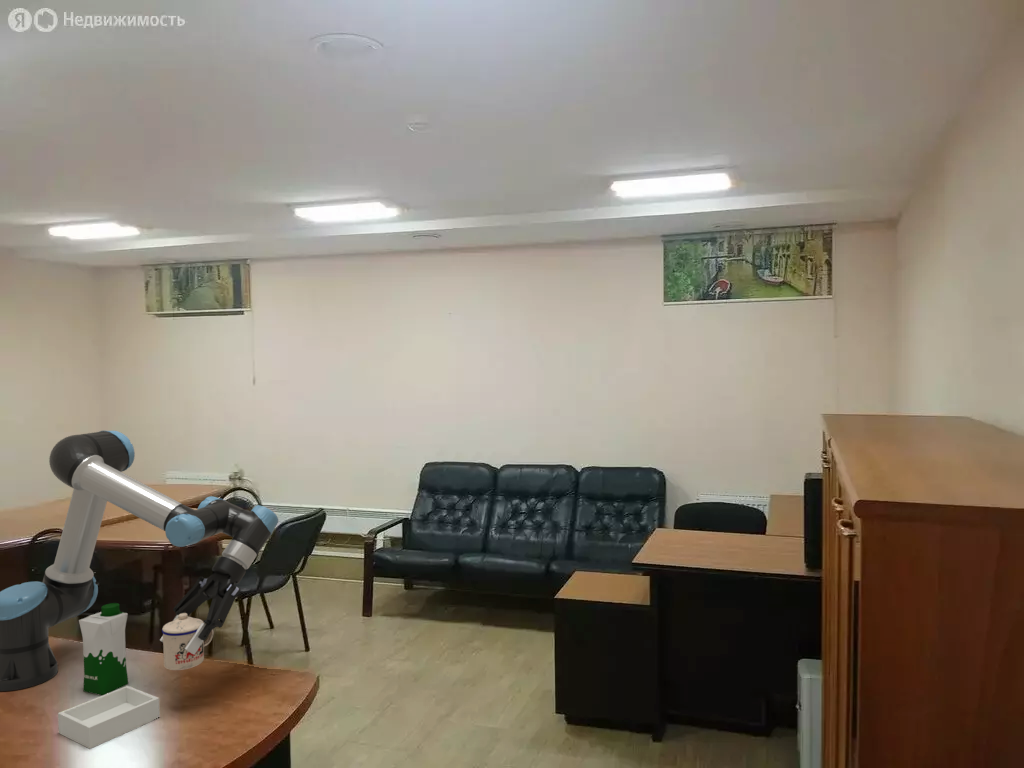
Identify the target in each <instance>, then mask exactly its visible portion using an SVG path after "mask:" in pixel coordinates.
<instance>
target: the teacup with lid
mask: <svg viewBox="0 0 1024 768" xmlns="http://www.w3.org/2000/svg"><path fill="white" fill-rule="evenodd" d="M172 620H173V619H172ZM202 623H204V620H203V619H200V618H198V617H197V618H195V617H192V616H188V615H187V613H185V612H184V613H181V614H179V615H178V618H177V619H175V620H173V621H169V622H167V623H165V624H164V625H163V626H162V629H161V633H162V636H163V642H162V644H163V645H162V648H163V666H164V668H165V669H167V670H171V671H181V670H182V671H183V670H188V669H192V668H194V667H197V666H199V665H200V664H202V663H203V662H204V660H205V647H207V646H208V645H209V644H210V643H211V641H212V640H213V638H214V634H215V633H214V629H212V631H211V632H210V634H209V635H208V636H207V638H206V639H205V640H204V641H203V643H202V644H201V646H200V647H199V649H198V650H197V652H196V653H195V655H194V654H192V653H190V652H189V651H187V650H186V649H185V648H186V646H187V645H188V643H189V642H190V640H191V639H192V637H193V636H194V634H195V633H196V631H197V630H198V628H199V627H200V625H201V624H202Z"/></svg>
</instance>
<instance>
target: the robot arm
mask: <svg viewBox="0 0 1024 768" xmlns="http://www.w3.org/2000/svg"><path fill="white" fill-rule="evenodd" d="M48 459H49V467H50V471H51V472H52V473H53V475H54V477H56V479H58V480H59V481H60V482H61V483H63V484H64V485H66V486H69V487H70V488H72V489H73V491H72V494H71V499H70V502H69V506H68V508H67V509H68V510H67V513H66V518H65V521H64V524H63V528H62V533H61V537H60V540H59V544H58V548H57V551H56V556H55V558H54V562H53V564H51V565H50V566H48V567H47V568H46V569H45V571H44V575H43V579H42V581H28V582H27V581H26V582H22V583H21V584H14V585H12V586H9V587H6V588H5V589H2V590H1V591H0V692H10V691H18V690H22V689H27V688H31V687H34V686H38V685H40V684H42V683H45V682H47V681H49V680H50V679H52V678H54V677H56V675H57V674H58V672H59V671H58V670H59V668H58V660H57V658H56V657H55V654H54V652H53V650H52V647H51V645H50V642H49V628H52V627H53V626H56V625H58V624H61V623H63V622H65V621H68V620H69V619H72V618H73V619H74V618H75V617H78V616H80V615H81V614H83V613H84V612H86V611H87V610H89V609H90V608H91V607H92V606H93V605H94V604H95V603H96V600H97V597H98V593H99V587H98V584H96V582H97V580H96V578H95V576H94V574H95V573H94V572H93V571H94V570H92V569H91V568H90V567H91V563H92V559H93V555H94V552H95V547H96V544H97V541H98V537H99V533H100V529H101V527H102V522H103V518H104V515H105V510H106V507H107V503H108V502H109V503H110V504H112V505H114V506H116V507H117V508H120V509H122V510H124V511H126V512H128V513H130V514H131V515H133V516H135V517H137V518H139V519H141V520H143V521H145V522H147V523H148V524H151V525H153V526H154V527H156V528H158V529H159V530H160V529H161V530H162V531H163V532H165V537H166V539H167V540H168V541H169V543H170V544H171V545H172V546H175V547H177V548H180V547H181V548H182V547H187V546H192V545H194V544H195V545H196V544H197V543H199V542H201V541H203V540H205V539H208V538H211V537H213V536H215V535H218V534H220V533H221V534H225V535H227V536H228V537H231V538H232V539H231V540H230V541H229V543H228V544H227V545H226V547H225V548H224V550H223V551H222V553H221V556H220V557H218V559H217V560H216V561H215V563H214V564H213V566H212V568H211V571H212V574H211V575H210V576H209V577H207V578H204V577H203V576H201V575H200V576H199V577H198V578H197V580H196V582H195V583H194V585H193V586H192V587H191V588H190V589H189V590H188V591H187V592H186V593H185V595H184V596H183V597H181V599H180V600H179V601H178V602H177V603H176V604H175V606H174V607H173V608H172V611H173V612H174V613H175V616H174V617H173V618H172V621H173V620H175V619H177V618H178V615H179V614H181V613H187V615H188V617H190V615H191V614H193V613H194V611H196V609H198V608H199V607H200V606H201V605H202V604H203V603H205V602H206V601H209V600H211V603H210V606H209V610H208V613H207V616H206V619H205V620H203V623H202V624H201V625H200V627H199V628H198V630H197V631H196V633H195V634H194V636H193V637H192V639H191V640H190V642H189V643H188V645H187V646H186V648H185V649H186V650H187V651H189V652H190V653H192V654H194V655H195V653H196V652H197V650H198V649H199V647H200V646H201V644H202V643H203V641H204V642H205V641H206V640H207V638H208V636H209V634H210V632H211V631H212V629H213V630H214V629H216V628H222V627H223V625H224V624H225V621H226V619H227V617H228V615H229V613H230V611H231V609H232V606H233V604H234V602H235V600H236V598H237V597H238V595H239V594H240V593H241V592H242V591H241V589H240V588H239V587H238V586H236V585H238V584H240V582H241V581H242V579H243V577H244V576H245V574H246V570H248V569H249V568H250V567H251V565H252V563H253V562H254V560H255V559H256V557H257V556H258V555H259V553H260V551H261V550H262V549H263V547H264V545H265V544H266V543H267V541H268V540H269V539H270V537H271V536H272V534H273V532H274V531H275V529H276V528H277V525H278V524H279V516H277V514H276V513H275V512H274V511H273V510H271V509H270V508H268V507H266V506H263V505H259V504H258V505H255V506H253V508H252V509H251V510H248V509H245V508H242V507H240V506H238V505H236V504H233V503H231V502H229V501H227V500H225V499H223V498H219V497H216V496H213V495H212V496H211V495H210V496H207V497H206V498H205V499H204V500H202V501H201V502H200V504H199V505H198V507H197V509H193V508H191V507H189V506H187V505H185V504H183V503H181V502H179V501H177V500H175V498H172V497H170V496H168V495H166V494H165V493H162V492H161V491H158V490H156V489H154V488H153V487H150V486H149V485H147V484H145V483H143V482H141V481H139V480H137V479H135V478H133V477H131V476H129V475H128V474H126V473H123V472H125V471H127V470H128V469H129V468H130V467H132V464H133V463H134V460H135V447H134V446H133V443H132V442H131V440H130V438H129V437H128V436H127V435H125V434H124V433H122V432H120V431H117V430H100V431H99V430H98V431H96V432H95V431H94V432H88V433H81V434H73V435H68V436H66V437H63V438H62V439H60V440H59V441H58V442H57V443H56V444H55V445H54V446H53V448H52V449H51V451H50V453H49V458H48ZM159 641H160V642H162V643H163V635H162V636H161V638H160V639H159Z"/></svg>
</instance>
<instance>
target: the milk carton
mask: <svg viewBox="0 0 1024 768" xmlns="http://www.w3.org/2000/svg"><path fill="white" fill-rule="evenodd" d="M100 609H101V610H100V612H99V611H98V612H96V613H95V614H94V613H93V614H91V615H88V616H86V617H84V618H81V619H78V623H79V628H80V632H81V636H82V637H81V638H82V650H83V652H82V655H83V657H82V658H83V688H82V689H83V692H86V693H90V694H95V695H98V694H99V696H103V695H105V694H107V693H110V692H113V691H115V690H118V689H120V688H123V687H125V686H127V685H128V684H129V678H128V670H127V656H126V655H127V654H126V653H127V652H126V626H127V621H128V615H129V614H128V613H127V612H124V611H121V609H120V603H117V602H112V603H107V604H104V605H102V606H101V607H100Z"/></svg>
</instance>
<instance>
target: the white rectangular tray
mask: <svg viewBox="0 0 1024 768" xmlns="http://www.w3.org/2000/svg"><path fill="white" fill-rule="evenodd" d="M160 714H161V713H160V697H157V696H155V695H152V694H150V693H147V692H146V691H142V690H140V689H138V688H135V687H132V686H130V685H124V686H122V687H120V688H118V689H116V690H114V691H112V692H110V693H108V694H105V695H99V696H98V697H95V698H93V699H90V700H88V701H85V702H83V703H80V704H78V705H75V706H73V707H70V708H68V709H65V710H63V711H60V712H57V719H58V721H57V722H58V734H60V736H61V735H62V736H64V737H66V738H68V739H69V740H72V741H73V742H76V744H77V743H78V744H79V745H81V746H83V747H85V748H88V749H89V750H90V748H91V749H92V748H95V747H98V746H99V744H100V745H102V744H105V743H106V742H108V741H110V740H112V739H115V738H117V737H119V736H122V735H124V734H126V733H128V732H131V731H133V730H135V729H137V728H139V727H141V726H144V725H146V724H149V723H150V722H153V721H155V720H157V719H159V718H158V717H160ZM156 718H157V719H156ZM154 719H155V720H154Z"/></svg>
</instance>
